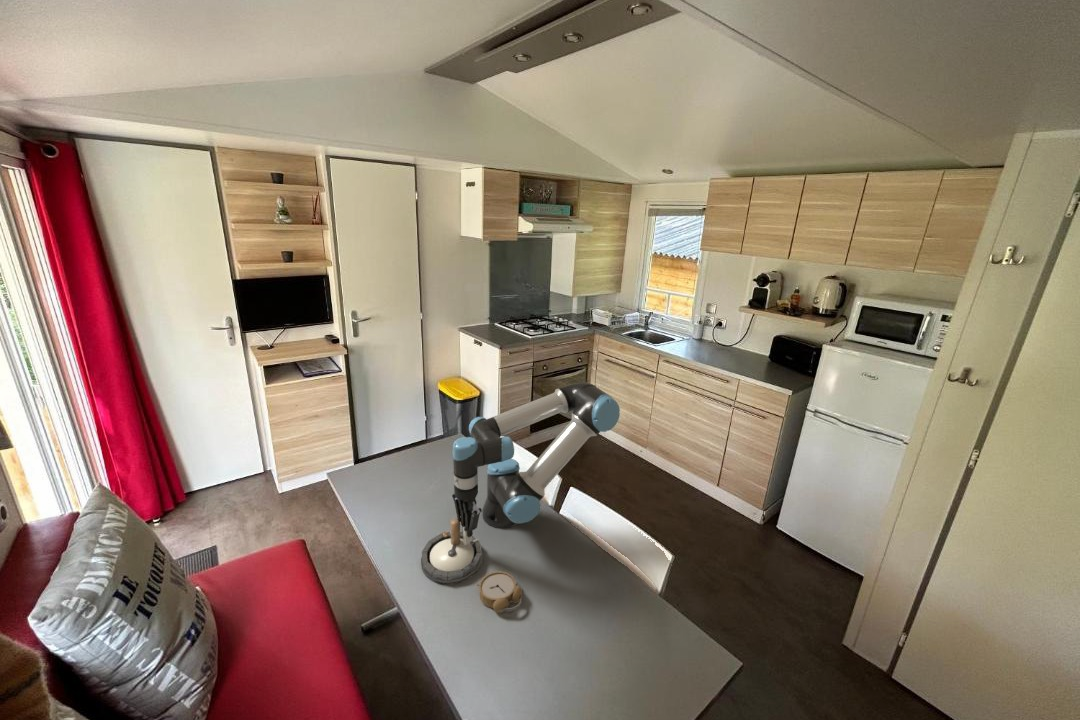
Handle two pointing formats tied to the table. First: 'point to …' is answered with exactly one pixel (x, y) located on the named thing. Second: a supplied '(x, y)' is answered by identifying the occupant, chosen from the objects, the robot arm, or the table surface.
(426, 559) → the housing
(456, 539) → the dial
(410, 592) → the table surface
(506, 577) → the alarm clock
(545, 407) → the robot arm
